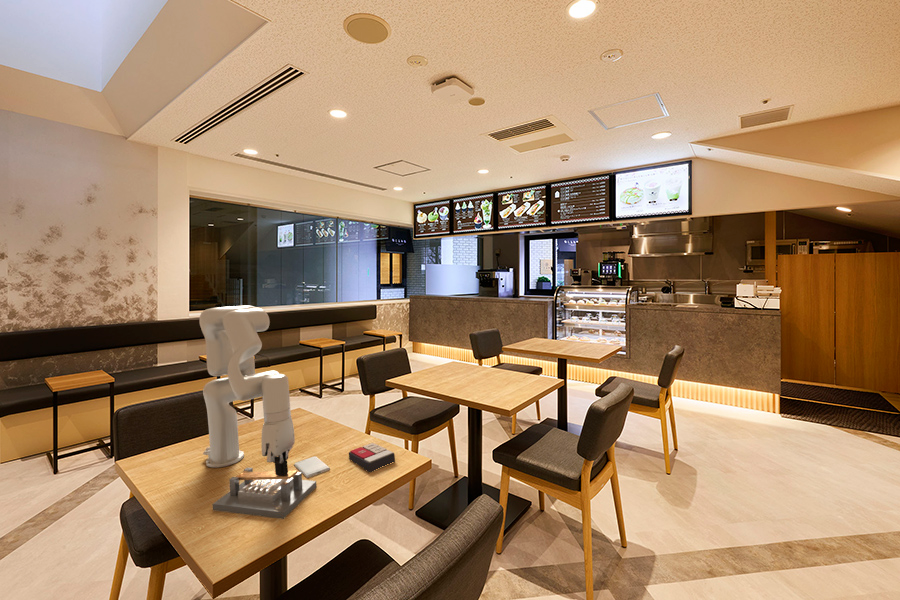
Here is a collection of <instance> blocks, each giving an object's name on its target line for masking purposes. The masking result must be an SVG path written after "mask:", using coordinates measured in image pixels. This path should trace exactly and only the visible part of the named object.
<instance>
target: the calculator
mask: <svg viewBox="0 0 900 600" xmlns="http://www.w3.org/2000/svg"><path fill="white" fill-rule="evenodd" d="M395 457H396V455H395V452H393V451H392V450H389V449H387V448H385V447H383V446H381V445H379V444H377V443H374V442H371V443H368V444H365V445H363V446H360V447H357V448H355V449H351V450H350V451H349V452H348V460H349V459H350V461H351V460H352V461H353V463H354V464H356V465H358V467H361V468H362V469H363V468H364V469H363V470H365V471H366V470H367V471H366V472H367V473H369V472H370V473H372V471H373V472H375V471H377V470H376V469H378V468H380V467H382V466H385V465H387V464H389V465H391V464H390V463H392V462H394V463H395V462H396V460H395V459H396V458H395ZM352 461H351V462H352ZM392 464H393V463H392ZM387 466H388V465H387ZM385 467H386V466H385ZM382 468H383V467H382ZM380 469H381V468H380ZM374 470H375V471H374ZM378 470H379V469H378Z"/></svg>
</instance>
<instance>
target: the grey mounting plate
mask: <svg viewBox="0 0 900 600" xmlns="http://www.w3.org/2000/svg"><path fill="white" fill-rule="evenodd" d="M245 486H246V485H245V484H244V481H243V482H241V483H239V490H241V489H242V488H243V487H245ZM317 487H318V485H317V481H316V480H311V479H309V480H308V479H302V489H301V490H300V491H294V487H293V486H292V487H291V488H290V497H291V499H290V500H289V501H288V502H282V501H281V497H279V498H278V499H277V500H276V501H275V502H274V503H268V502H259V501H250V500H241V499H238V495H237V496H230V491H229V492H227V493H225V494H224V495H223V496H221V497H220V498H219V499H217V500H216V501H214V502H213V503H212V511H214V512H224V513H230V514H240V515H246V516H247V515H248V516H255V517H256V516H257V517H263V518H273V519H281V520H284V519H285V518H286V517H288V515H289V514H290V513H291V512H293V510H294V509H295V508H297V507H298V506H299V504H301V503H302V502H303V501H304V500H305V499H306V498H307V497H308V496H309V495H310V494H311V493H312V492H313V491H314V490H315V489H316V488H317Z"/></svg>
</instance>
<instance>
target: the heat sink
mask: <svg viewBox="0 0 900 600" xmlns="http://www.w3.org/2000/svg"><path fill="white" fill-rule="evenodd" d="M243 471H247V472H254V471H253V467H248V466H247V467H245V468H244V469H243ZM302 474H303V473H302V472H300V471H297V474H296V475H294V476H293V477H292V478H291V479H267V480H243V482H244V484H245V485H246V486H245V487H243V488H242V489H241V490H239V485H240V480H239V477H236V476H232V477H231V478H229V482H228V483H229V492H230V496H237V495H238V499H241V500H250V501H259V502H268V503H274V502H275V501H276V500H277V499H278V498H279V497H281V501H282V502H288V501H289V500H290V499H291V497H290V488H291V487H292V486H293V487H294V491H300V490H301V489H302V480H303V476H302Z"/></svg>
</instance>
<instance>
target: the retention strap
mask: <svg viewBox="0 0 900 600" xmlns="http://www.w3.org/2000/svg"><path fill="white" fill-rule="evenodd" d="M297 472H298V470H288V473H287V474H285V475H284V476H281V475H276V473H275V470H271V471H269V470H267V471H265V470H264V471H253V472H247V471H244V470H242V472H241V473H238V475H236V476H235V477H239V481H244V480H267V479H291V478H293V476H294V475H296V474H297Z"/></svg>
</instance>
